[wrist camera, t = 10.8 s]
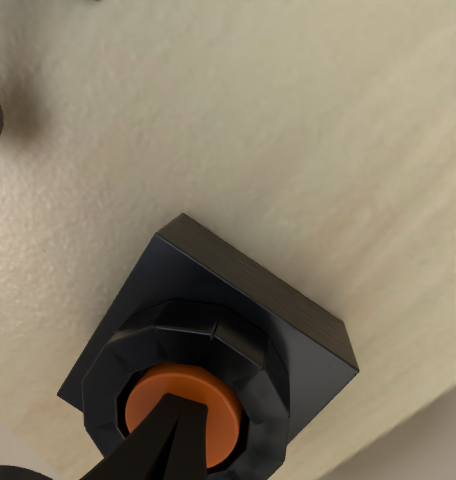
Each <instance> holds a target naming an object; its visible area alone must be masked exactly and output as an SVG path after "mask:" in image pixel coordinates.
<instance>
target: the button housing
mask: <svg viewBox="0 0 456 480" xmlns="http://www.w3.org/2000/svg"><path fill="white" fill-rule="evenodd" d="M163 362H169V363H176V364H183V365H189V366H196V367H201V368H203V369H204V370H206V371H207V372H209V373H210V374H212V375H213V376H215V377H216V378H218V379H219V380H221V381H222V382H224V383H225V384H227V385H228V386H230V387H231V388H233V390H234V392H235V394H236V396H237V397H238V399H239V401H240V403H241V405H242V406H243V409H242V416H241V423H240V429H239V435H238V440H237V443H236V445H235V447H234V449H233V450H232V452H231V453H230V454H229V456H228V457H227V458H226V459H224V460H223V461H222V462H220V463H219V464H217V465H215V466H213V467H210V468H207V477H208V480H267V479H268V478H269V477H270V476H271V475H272V474H273V473H274V472H275V471H276V470H277V469H278V468H279V467H280V466H281V465H282V464H283V462H284V461H285V455H286V447H287V445H288V444H289V443H290V442H291V441H292V440H293V438H294V437H295V436H296V435H297V434H298V433H299V432H300V431H301V430H302V429H303V428H304V427H305V426H306V425H307V424H308V423H309V422H310V421H311V420H312V419H313V418H314V417H315V416H316V415H317V414H318V413H319V412H320V411H321V410H322V409H323V408H324V407H325V406H326V405H327V404H328V403H329V402H330V401H331V400H332V399H333V398H334V397H335V396H336V395H337V394H338V393H339V392H340V391H341V390H342V389H343V388H344V387H345V386H346V385H347V384H348V383H349V382H350V381H351V380H352V379H353V378H354V377H355V376H356V375H357V374H358V373H359V367H358V364H357V361H356V358H355V355H354V352H353V349H352V346H351V343H350V340H349V337H348V333H347V330H346V327H345V324H344V323H343V322H342V321H340V320H339V319H337V318H336V317H334V316H333V315H331V314H330V313H329V312H327V311H326V310H324V309H323V308H321V307H320V306H318V305H317V304H315V303H314V302H312V301H311V300H309V299H308V298H307V297H305V296H304V295H302V294H301V293H299V292H298V291H296V290H295V289H293V288H292V287H290V286H289V285H288V284H286V283H285V282H283V281H282V280H280V279H279V278H277V277H276V276H274V275H273V274H271V273H270V272H268V271H267V270H266V269H264V268H263V267H261V266H260V265H258V264H257V263H255V262H254V261H252V260H251V259H249V258H248V257H246V256H245V255H244V254H242V253H241V252H239V251H238V250H236V249H235V248H233V247H232V246H230V245H229V244H227V243H226V242H224V241H223V240H222V239H220V238H219V237H217V236H216V235H214V234H213V233H211V232H210V231H208V230H207V229H205V228H204V227H202V226H201V225H200V224H198V223H197V222H195V221H194V220H192V219H191V218H189V217H188V216H186V215H185V214H183V213H182V214H180V215H179V216H178V217H176V218H175V219H174V220H172V221H171V222H170V223H168V224H167V225H166V226H164V227H163V228H162V229H160V230H159V231H158V232H156V233H155V234H154V236H153V237H152V239H151V241H150V242H149V244H148V246H147V247H146V249H145V251H144V252H143V254H142V255H141V257H140V259H139V260H138V262H137V264H136V265H135V267H134V268H133V270H132V272H131V273H130V275H129V277H128V278H127V280H126V282H125V283H124V285H123V286H122V288H121V290H120V291H119V293H118V295H117V296H116V298H115V299H114V301H113V303H112V304H111V306H110V308H109V309H108V311H107V313H106V314H105V316H104V317H103V319H102V321H101V322H100V324H99V326H98V327H97V329H96V330H95V332H94V334H93V335H92V337H91V339H90V340H89V342H88V344H87V345H86V347H85V348H84V350H83V352H82V353H81V355H80V357H79V358H78V360H77V361H76V363H75V365H74V366H73V368H72V370H71V371H70V373H69V375H68V376H67V378H66V379H65V381H64V383H63V384H62V386H61V388H60V389H59V391H58V392H57V396H59V397H60V398H62V399H63V400H65V401H66V402H68V403H69V404H71V405H72V406H74V407H75V408H77V409H78V410H80V411H81V412H83V414H84V426H85V427H86V431H87V432H88V434H89V435H90V437H91V438H92V440H93V441H94V443H95V444H96V446H97V448H98V449H99V451H100V452H101V454H102V455H103V457H104V458H105V457H106V456H107V455H108V454H109V453H110V452H111V451H113V450H114V449H115V448H116V447H117V446H118V445H119V444H120V443H121V442H122V441H123V440H124V439H125V438H126V437H127V436H128V435H129V434H130V433H129V430H128V428H127V424H126V418H125V409H126V403H127V400H128V397H129V395H130V393H131V392H132V390H133V388H134V387H135V385H136V383H137V382H138V380H139V378H140V377H141V375H142V373H143V372H144V370H145V369H146V368H149V367H152V366H154V365H157V364H160V363H163Z"/></svg>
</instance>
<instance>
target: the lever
mask: <svg viewBox="0 0 456 480" xmlns="http://www.w3.org/2000/svg"><path fill="white" fill-rule="evenodd" d="M3 125H4V117H3V112H2V108H1V105H0V136H1V134H2V130H3Z"/></svg>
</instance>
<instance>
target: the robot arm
mask: <svg viewBox="0 0 456 480" xmlns="http://www.w3.org/2000/svg"><path fill="white" fill-rule="evenodd" d="M207 414H208V407H207V405H206V404H203V403H199V402H196V401H193V400H190V399H186V398H183V397H180V396H177V395H174V394H170V393H166V394H164V395H163V396H162V398H161V399H160V401H159V402H158V403H157V404H156V406H155V407H154V408H153V409H152V410H151V412H150V413H149V414H148V415H147V416H146V417H145V418H144V419H143V421H142V422H141V423H140V424H139V425H138V426H137V427H136V428H135V429H134V430H133V431H132V432H131V433H130V434H129V435H128V436H127V437H126V438H125V439H124V440H123V441H122V442H121V443H120V444H119V445H118V446H117V447H116V448H115V449H114V450H113V451H111V452H110V453H109V454H108V455H107V456H106V457H105V458H104V459H103V460H102V461H101V462H99V463H98V464H97V465H96V466H95V467H94V468H93V469H91V470H90V471H89V472H88V473H87V474H85V475H84V476H83V477H82V478H81V479H79V480H208V477H207V462H206V422H207Z"/></svg>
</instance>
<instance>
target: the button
mask: <svg viewBox="0 0 456 480" xmlns="http://www.w3.org/2000/svg"><path fill="white" fill-rule="evenodd" d="M166 393H170V394H174V395H177V396H180V397H183V398H186V399H190V400H193V401H196V402H199V403H203V404H206V405H207V407H208V414H207V422H206V462H207V468H210V467H213V466H215V465H217V464H219V463H220V462H222V461H223V460H224V459H226V458H227V457H228V456H229V454H230V453H231V452H232V450H233V449H234V447H235V445H236V443H237V440H238V435H239V429H240V423H241V416H242V409H243V406H242V405H241V403H240V401H239V399H238V397H237V396H236V394H235V392H234V390H233V388H231V387H230V386H228V385H227V384H225V383H224V382H222V381H221V380H219V379H218V378H216V377H215V376H213V375H212V374H210V373H209V372H207V371H206V370H204V369H203V368H201V367H196V366H189V365H183V364H176V363H169V362H163V363H160V364H157V365H154V366H152V367H149V368H146V369H145V370H144V372H143V373H142V375H141V377H140V378H139V380H138V382H137V383H136V385H135V387H134V388H133V390H132V392H131V393H130V395H129V397H128V400H127V403H126V409H125V418H126V424H127V428H128V430H129V433H131V432H132V431H133V430H134V429H135V428H136V427H137V426H138V425H139V424H140V423H141V422H142V421H143V419H144V418H145V417H146V416H147V415H148V414H149V413H150V412H151V410H152V409H153V408H154V407H155V406H156V404H157V403H158V402H159V401H160V399H161V398H162V396H163V395H164V394H166Z"/></svg>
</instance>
